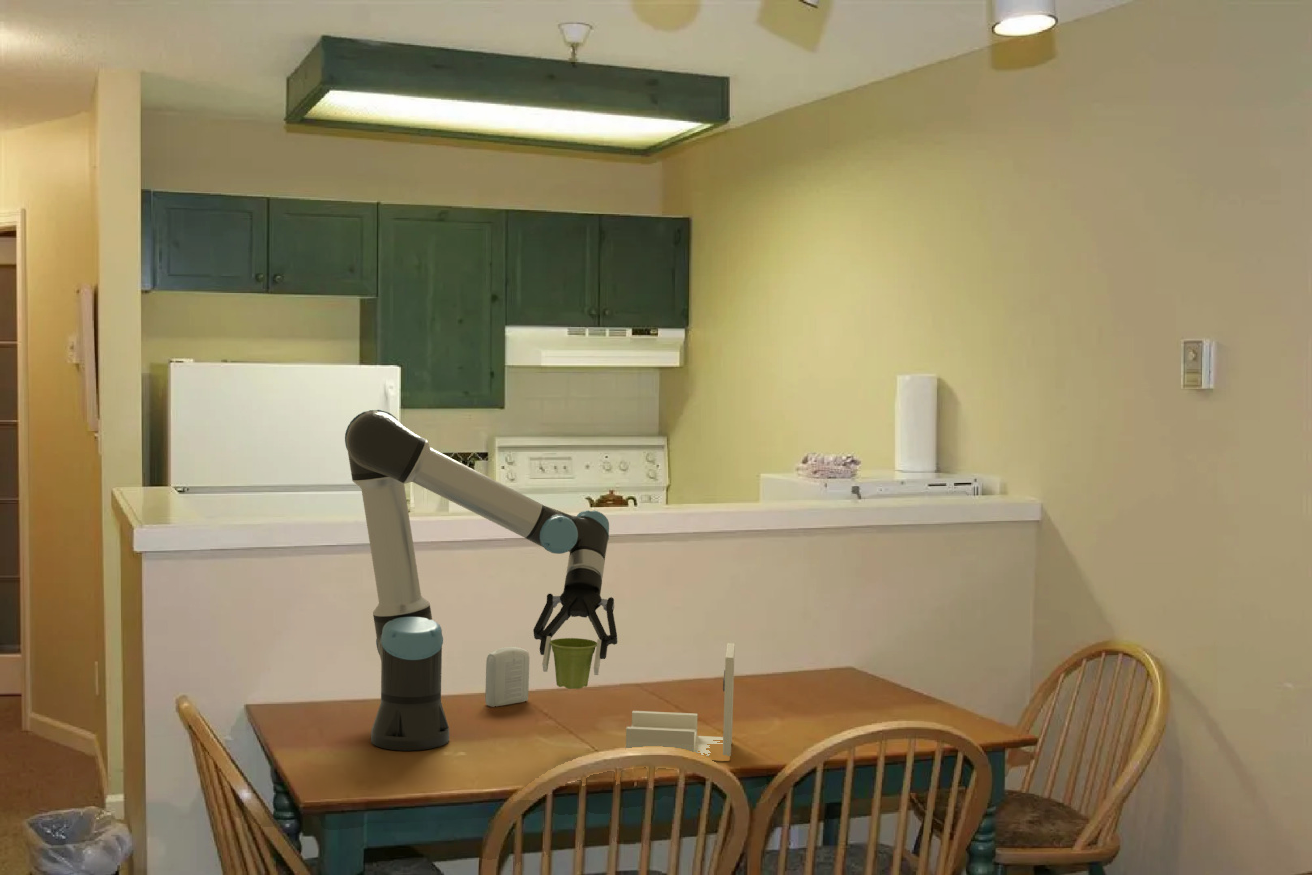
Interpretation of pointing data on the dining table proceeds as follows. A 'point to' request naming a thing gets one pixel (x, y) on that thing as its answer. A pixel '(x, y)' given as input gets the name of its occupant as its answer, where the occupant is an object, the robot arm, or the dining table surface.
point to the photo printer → (507, 676)
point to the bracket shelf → (684, 722)
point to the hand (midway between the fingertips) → (570, 669)
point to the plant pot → (572, 661)
